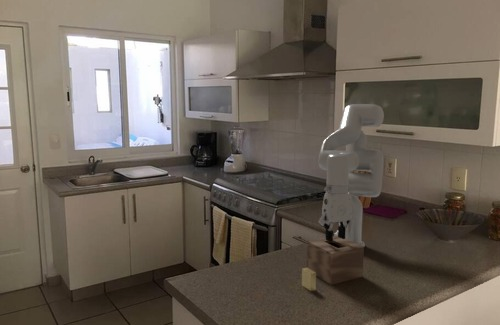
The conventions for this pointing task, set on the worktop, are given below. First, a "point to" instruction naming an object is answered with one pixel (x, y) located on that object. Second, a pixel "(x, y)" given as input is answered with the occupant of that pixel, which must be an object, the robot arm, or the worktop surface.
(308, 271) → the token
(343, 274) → the box
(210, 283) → the worktop surface
